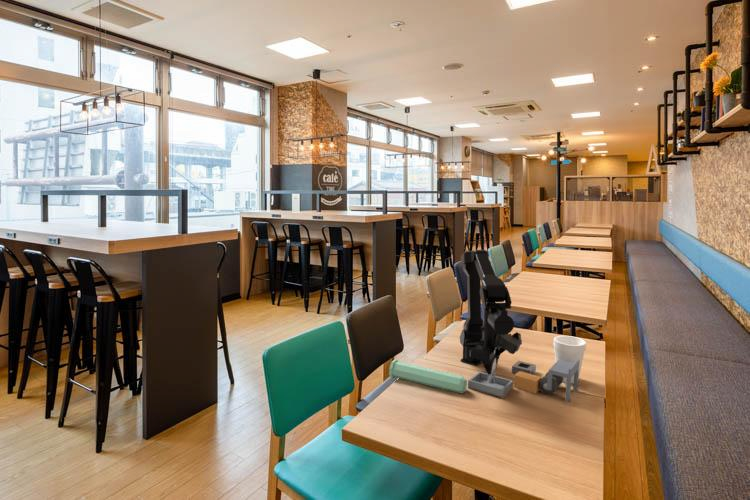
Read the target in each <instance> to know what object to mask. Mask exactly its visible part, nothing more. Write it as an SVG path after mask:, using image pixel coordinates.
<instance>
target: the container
mask: <svg viewBox="0 0 750 500" xmlns="http://www.w3.org/2000/svg"><path fill="white" fill-rule="evenodd" d="M388 370H389V371H388V373H389V374H388V375H389V377H390V378H399V379H402V380H404V381H405V380H406V381H411V382H413V383H418V384H422V385H426V386H430V387H434V388H437V389H442V390H446V391H451V392H453V393H459V394H463V393H465V392H466V389H467V388H468V379H467V378H465V377H464V376H462V375H457V374H453V373H449V372H444V371H440V370H436V369H431V368H427V367H424V366H423V367H422V366H419V365H414V364H410V363H406V362H402V361H401V362H400V361H399V360H398V359H393V360H392V361H391V363H390V365H389V368H388Z"/></svg>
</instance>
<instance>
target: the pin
mask: <svg viewBox="0 0 750 500" xmlns="http://www.w3.org/2000/svg"><path fill="white" fill-rule="evenodd" d="M496 370H497V365H496V358H495V359H494V361H493V367H492V372H491V374H487V382H488V383H490V384H494V383H495V376H496Z"/></svg>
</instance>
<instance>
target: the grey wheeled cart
mask: <svg viewBox="0 0 750 500" xmlns="http://www.w3.org/2000/svg"><path fill="white" fill-rule="evenodd" d="M579 360H580V359H577V360H576V361H575V362H574V363H571V362H567V361H562V360H558V361H557V362H556V363H554V364H553V365H552V366H551V367H550V368H549V369H548V371H547V372H546V373H545V375H544V376H542V377H541V380H540V381H539V383H538V387H539V389H540V390H539V391H540V392H541V393H542V394H545V395H547V396H548V395H549V396H551V395H553V394H554V393H555V392H556V391H557V390H558V387H560V386H561V385H562V384H563V383H564V382H563V377H565V378H567V382H566V384H565V385H566V387H565V401H566V402H570V401H571V387H572V383H571V377H572V376H573V375H574V383H573V389H572V390H573V391H578V387H579V379H578V375H579ZM579 376H580V375H579Z"/></svg>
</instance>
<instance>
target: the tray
mask: <svg viewBox="0 0 750 500" xmlns="http://www.w3.org/2000/svg"><path fill="white" fill-rule="evenodd" d="M467 388H468V389H471V390H473V391H478V392H480V393H482V394H483V393H484V394H487V395H491V396H494V397H497V398H500V399H504V397H506V396H507V395H508V394H509V393H510V392H511V391H513V389H514V380H511V379H508V378H505V377H501V376H498V375H495V383H494V384H490V383H488V382H487V372H482V371H478V372H477V373H475V374H474V375H473V376H472V377H470V378H469V379H467Z"/></svg>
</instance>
